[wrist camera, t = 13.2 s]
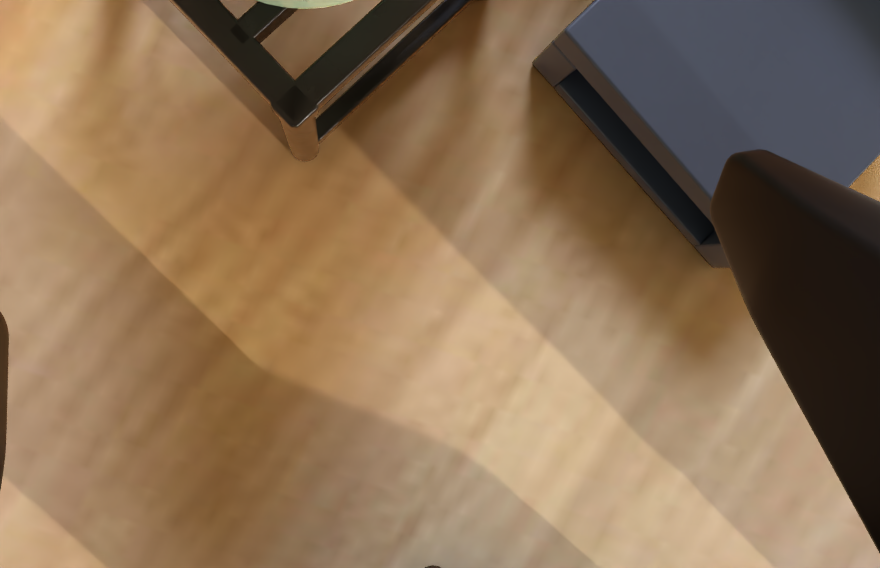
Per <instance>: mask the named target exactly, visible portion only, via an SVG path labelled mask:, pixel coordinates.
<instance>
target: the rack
mask: <svg viewBox="0 0 880 568" xmlns="http://www.w3.org/2000/svg"><path fill="white" fill-rule="evenodd" d="M170 1H171V2H172V3H173V4H174V6H175V7H176V8H177V9H178V10H179V11H180V12H181V13H182V14H183V15H184V16H185V17H186V18H187V19H188V20H189V21H190V22H191V23H192V24H193V25H194V26H195V27H196V29H197V30H198V31H199V32H200V33H201V34H202V35H203V36H204V37H205V38H206V39H207V40H208V41H209V42H210V43H211V44H212V45H213V46H214V47H215V48H216V49H217V50H218V51H219V53H220V54H221V55H222V56H223V57H224V58H225V59H226V60H227V61H228V62H229V63H230V64H231V65H232V66H233V67H234V68H235V69H236V70H237V71H238V72H239V73H240V74H241V76H242V77H243V78H244V79H245V80H246V81H247V82H248V83H249V84H250V85H251V86H252V87H253V88H254V89H255V90H256V91H257V92H258V93H259V94H260V95H261V96H262V97H263V99H264V100H265V101H266V102H267V103H268V104H269V105H270V106H271V108H272V111H273V112H274V113H275V114H276V115H277V117H278V118H279V119H280V122H281V125H282V127H283V130H284V133H285V136H286V138H287V141H288V144H289V147H290V149H291V152H292V154H293V156H294V157H295V158H296V159H298V160H300V161H310V160H312V159H314V158H315V157H316V156H317V154H318V151H319V144H320V143H321V142H322V141H323V140H324V139H325V138H326V137H327V136H328V135H329V134H330V133H331V132H333V131H334V130H335V129H336V128H337V127H338V126H339V125H340V124H341V123H342V122H343V121H344V120H345V119H346V118H348V117H349V116H350V115H351V114H352V113H353V112H354V111H355V110H356V109H357V108H358V107H359V106H360V105H361V104H363V103H364V102H365V101H366V100H367V99H368V98H369V97H370V96H371V95H372V94H373V93H374V92H375V91H377V90H378V89H379V88H380V87H381V86H382V85H383V84H384V83H385V82H386V81H387V80H388V79H389V78H390V77H392V76H393V75H394V74H395V73H396V72H397V71H398V70H399V69H400V68H401V67H402V66H403V65H404V64H405V63H407V62H408V61H409V60H410V59H411V58H412V57H413V56H414V55H415V54H416V53H417V52H418V51H419V50H420V49H422V48H423V47H424V46H425V45H426V44H427V43H428V42H429V41H430V40H431V39H432V38H433V37H434V36H436V35H437V34H438V33H439V32H440V31H441V30H442V29H443V28H444V27H445V26H446V25H447V24H448V23H449V22H451V21H452V20H453V19H454V18H455V17H456V16H457V15H458V14H459V13H460V12H461V11H462V10H463V9H464V8H466V7H467V6H468V5H469V4H470V3H471V2H472V1H473V0H444V1H443V2H442V3H441V4H439V5H438V6H437V7H436V8H435V9H434V10H433V11H432V12H431V13H430V14H429V15H428V16H426V17H425V18H424V19H423V20H422V21H421V22H420V23H419V24H418V25H417V26H416V27H415V28H414V29H412V30H411V31H410V32H409V33H408V34H407V35H406V36H405V37H404V38H403V39H402V40H401V41H400V42H398V43H397V44H396V45H395V46H394V47H393V48H392V49H391V50H390V51H389V52H388V53H387V54H386V55H384V56H383V57H382V58H381V59H380V60H379V61H378V62H377V63H376V64H375V65H374V66H373V67H371V68H370V69H369V70H368V71H367V72H366V73H365V74H364V75H363V76H362V77H361V78H360V79H359V80H357V81H356V82H355V83H354V84H353V85H352V86H351V87H350V88H349V89H348V90H347V91H346V92H345V93H343V94H342V95H341V96H340V97H339V98H338V99H337V100H336V101H335V102H334V103H333V104H332V105H330V106H329V107H328V108H327V109H326V110H325V111H324V112H323V113H322V114H321V115H320V116H319V117H318V118H316V117H315V116H317V115H318V113H319V109H321V108H322V107H323V106H324V105H325V104H326V103H327V102H328V101H329V100H330V99H331V98H332V97H334V96H335V95H336V94H337V93H338V92H339V91H340V90H341V89H342V88H343V87H344V86H345V85H346V84H348V83H349V82H350V81H351V80H352V79H353V78H354V77H355V76H356V75H357V74H358V73H359V72H361V71H362V70H363V69H364V68H365V67H366V66H367V65H368V64H369V63H370V62H371V61H372V60H373V59H375V58H376V57H377V56H378V55H379V54H380V53H381V52H382V51H383V50H384V49H385V48H386V47H388V46H389V45H390V44H391V43H392V42H393V41H394V40H395V39H396V38H397V37H398V36H399V35H400V34H402V33H403V32H404V31H405V30H406V29H407V28H408V27H409V26H410V25H411V24H412V23H413V22H415V21H416V20H417V19H418V18H419V17H420V16H421V15H422V14H423V13H424V12H425V11H426V10H428V9H429V8H430V7H431V6H432V5H433V4H434V3H435V2H436V1H437V0H382V1H381V2H380V3H379V4H377V5H376V6H375V7H374V8H373V9H372V10H371V11H370V12H369V13H368V14H367V15H365V16H364V17H363V18H362V19H361V20H360V21H359V22H358V23H357V24H356V25H355V26H353V27H352V28H351V29H350V30H349V31H348V32H347V33H346V34H345V35H344V36H343V37H341V38H340V39H339V40H338V41H337V42H336V43H335V44H334V45H333V46H332V47H331V48H329V49H328V50H327V51H326V52H325V53H324V54H323V55H322V56H321V57H320V58H319V59H317V60H316V61H315V62H314V63H313V64H312V65H311V66H310V67H309V68H308V69H307V70H305V71H304V72H303V73H302V74H301V75H300V76H299V77H298V78H297V79H296V80H294V79H293V78H292V77H291V76H290V75H289V74H288V72H287V71H286V70H285V69H284V68H283V67H282V66H281V65H280V64H279V63H278V62H277V61H276V60H275V59H274V58H273V57H272V56H271V54H270V53H269V52H268V51H267V50H266V49H265V48H264V47H263V46H262V45H261V44H260V43H261V42H262V41H263V40H264V39H265V38H267V37H268V36H269V35H270V34H271V33H272V32H273V31H274V30H275V29H276V28H278V27H279V26H280V25H281V24H282V23H283V22H284V21H285V20H286V19H288V18H289V17H290V16H291V15H292V14H293V13H294V12H295V11H296V10H297V9H299V8H286V7H280V6H275V5H270V4H266V3H263V2H260V1H258V2H257V3H256V4H255V5H254V6H253V7H251V8H250V9H249V10H248V11H247V12H246V13H245V14H244V15H243V16H241V17H240V18H239V19H238V20H237V18H236V17H235V16H234V15H233V14H232V13H231V12H230V11H229V10H228V9H227V8H226V7H225V6H224V5H223V4H222V3H221V2H220V0H170Z"/></svg>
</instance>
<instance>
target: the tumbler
mask: <svg viewBox="0 0 880 568" xmlns="http://www.w3.org/2000/svg"><path fill="white" fill-rule="evenodd" d="M257 1H260V2H263V3H266V4H270V5H275V6H280V7H286V8H299V9H312V8H326V7H330V6H335V5H340V4H344V3H347V2H350V1H353V0H257Z"/></svg>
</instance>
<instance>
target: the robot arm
mask: <svg viewBox="0 0 880 568" xmlns="http://www.w3.org/2000/svg"><path fill="white" fill-rule="evenodd" d="M710 216H711V220H712V223H713V226H714V228H715V231H716V233H717V236H718V238H719V241H720V243H721V245H722V248H723V250H724V253H725V255H726V258H727V260H728V263H729V265H730V268H731V270H732V273H733V275H734V277H735V280H736V282H737V285H738V287H739V290H740V292H741V295H742V297H743V300H744V302H745V304H746V306H747V309H748V311H749V313H750V315H751V317H752V319H753V321H754V323H755V325H756V327H757V329H758V331H759V333H760V335H761V337H762V338H763V340H764V342H765V344H766V346H767V348H768V349H769V351H770V353H771V355H772V357H773V359H774V360H775V362H776V364H777V366H778V368H779V370H780V371H781V373H782V375H783V377H784V379H785V381H786V382H787V384H788V386H789V388H790V390H791V392H792V393H793V395H794V397H795V399H796V401H797V403H798V404H799V406H800V408H801V410H802V412H803V414H804V415H805V417H806V419H807V421H808V423H809V425H810V426H811V428H812V430H813V432H814V434H815V436H816V437H817V439H818V441H819V443H820V445H821V447H822V448H823V450H824V452H825V454H826V456H827V458H828V459H829V461H830V463H831V465H832V467H833V469H834V470H835V472H836V474H837V476H838V478H839V480H840V481H841V483H842V485H843V487H844V489H845V491H846V492H847V494H848V496H849V498H850V500H851V502H852V503H853V505H854V507H855V509H856V511H857V513H858V514H859V516H860V518H861V520H862V522H863V524H864V525H865V527H866V529H867V531H868V533H869V535H870V536H871V538H872V540H873V542H874V544H875V546H876V547H877V549H878V551H879V553H880V202H879V201H877V200H874V199H872V198H870V197H868V196H866V195H863V194H861V193H859V192H857V191H855V190H853V189H850V188H848V187H846V186H844V185H842V184H839V183H837V182H835V181H833V180H831V179H829V178H826V177H824V176H822V175H820V174H818V173H816V172H813V171H811V170H809V169H807V168H805V167H802V166H800V165H798V164H796V163H794V162H792V161H789V160H787V159H785V158H783V157H781V156H778V155H776V154H774V153H772V152H770V151H767V150H763V149H757V150H750V151H743V152H737V153H734V154H732V155H731V156H730V157H729V158H728V159H727V161H726V163H725V165H724V168H723V170H722V173H721V176H720V178H719V181H718V184H717V186H716V189H715V192H714V194H713V197H712V200H711V203H710ZM8 348H9V333H8V327H7V324H6V321H5V319H4V317H3V315H2V313H1V312H0V489H1V483H2V477H3V469H4V461H5V450H6V429H7V388H8ZM425 568H440V567H439V566H433V565H432V566H428V567H425Z"/></svg>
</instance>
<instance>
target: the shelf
mask: <svg viewBox="0 0 880 568" xmlns="http://www.w3.org/2000/svg"><path fill="white" fill-rule="evenodd" d="M533 65H534V66H535V67H536V68H537V70H538V71H539V72H540V73H541V74H542V75H543V76H544V77H545V79H546V80H547V81H548V82H549V83H550V84H551V85H552V86H553V87H554V86H555V87H554V89H555V90H556V91H557V92H558V94H559V95H560V96H561V97H562V98H563V99H564V100H565V101H566V103H567V104H568V105H569V106H570V107H571V108H572V109H573V110H574V112H575V113H576V114H577V115H578V116H579V117H580V118H581V120H582V121H583V122H584V123H585V124H586V125H587V126H588V127H589V129H590V130H591V131H592V132H593V133H594V134H595V135H596V137H597V138H598V139H599V140H600V141H601V142H602V143H603V144H604V146H605V147H606V148H607V149H608V150H609V151H610V152H611V153H612V155H613V156H614V157H615V158H616V159H617V160H618V161H619V163H620V164H621V165H622V166H623V167H624V168H625V169H626V170H627V172H628V173H629V174H630V175H631V176H632V177H633V178H634V179H635V181H636V182H637V183H638V184H639V185H640V186H641V187H642V189H643V190H644V191H645V192H646V193H647V194H648V195H649V196H650V198H651V199H652V200H653V201H654V202H655V203H656V204H657V206H658V207H659V208H660V209H661V210H662V211H663V212H664V213H665V215H666V216H667V217H668V218H669V219H670V220H671V221H672V222H673V224H674V225H675V226H676V227H677V228H678V229H679V230H680V232H681V233H682V234H683V235H684V236H685V237H686V238H687V239H688V241H689V242H690V243H691V244H692V245H694V247H695V248H696V249H697V250H698V251H699V253H700V254H701V255H702V256H703V257H704V258H705V259H706V261H707V262H708V263H709V264H710V265H711V266H712V267H713V268H730V265H729V263H728V260H727V258H726V255H725V253H724V250H723V248H722V245H721V243H720V241H719V238H718V236H717V233H716V231H715V228H714V226H713V223H712V220H711V216H710V203H711V200H712V197H713V194H714V192H715V189H716V186H717V184H718V181H719V178H720V176H721V173H722V170H723V168H724V165H725V163H726V161H727V159H728V158H729V157H730V156H731V155H732V154H734V153H737V152H743V151H750V150H757V149H763V150H767V151H770V152H772V153H774V154H776V155H778V156H781V157H783V158H785V159H787V160H789V161H792V162H794V163H796V164H798V165H800V166H802V167H805V168H807V169H809V170H811V171H813V172H816V173H818V174H820V175H822V176H824V177H826V178H829V179H831V180H833V181H835V182H837V183H839V184H842V185H844V186H846V187H849V186H850V185H851V184H852V183H853V182H854V181H855V180H856V179H857V178H858V177H859V176H860V175H861V174H862V173H863V172H864V171H865V170H866V169H867V168H868V166H869V165H870V164H871V163H872V162H873V161H874V160H875V159H876V158H877V157H878V156H879V155H880V0H594V1H593V2H592V3H591V4H590V5H589V6H588V7H587V8H586V9H585V10H584V11H583V12H582V13H581V14H580V15H579V16H578V17H577V18H575V19H574V20H573V21H572V22H571V23H570V24H569V25H568V26H567V27H566V28H565V29H564V30H563V31H562V32H561V33H560V34H559V35H558V36H557V37H556V38H555V39H554V40H553V41H552V42H551V43H550V44H549V45H548V46H547V47H546V48H545V49H544V50H543V51H542V53H541V54H540V55H539V56H538V57H537V58H536V59H535V60H534V61H533Z"/></svg>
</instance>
